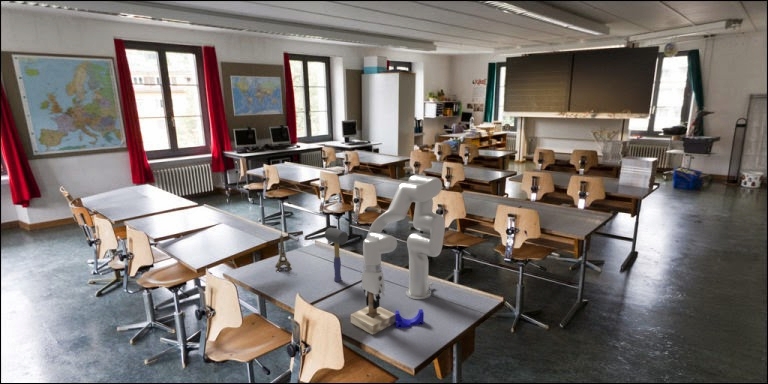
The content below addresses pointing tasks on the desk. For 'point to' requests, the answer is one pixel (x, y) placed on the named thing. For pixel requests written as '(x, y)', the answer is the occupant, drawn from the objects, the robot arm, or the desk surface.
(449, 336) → the desk surface
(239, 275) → the desk surface
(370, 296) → the peg
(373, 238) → the robot arm
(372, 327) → the board
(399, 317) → the blue u-shaped cradle
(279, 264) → the eiffel tower
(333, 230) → the rubber mallet
